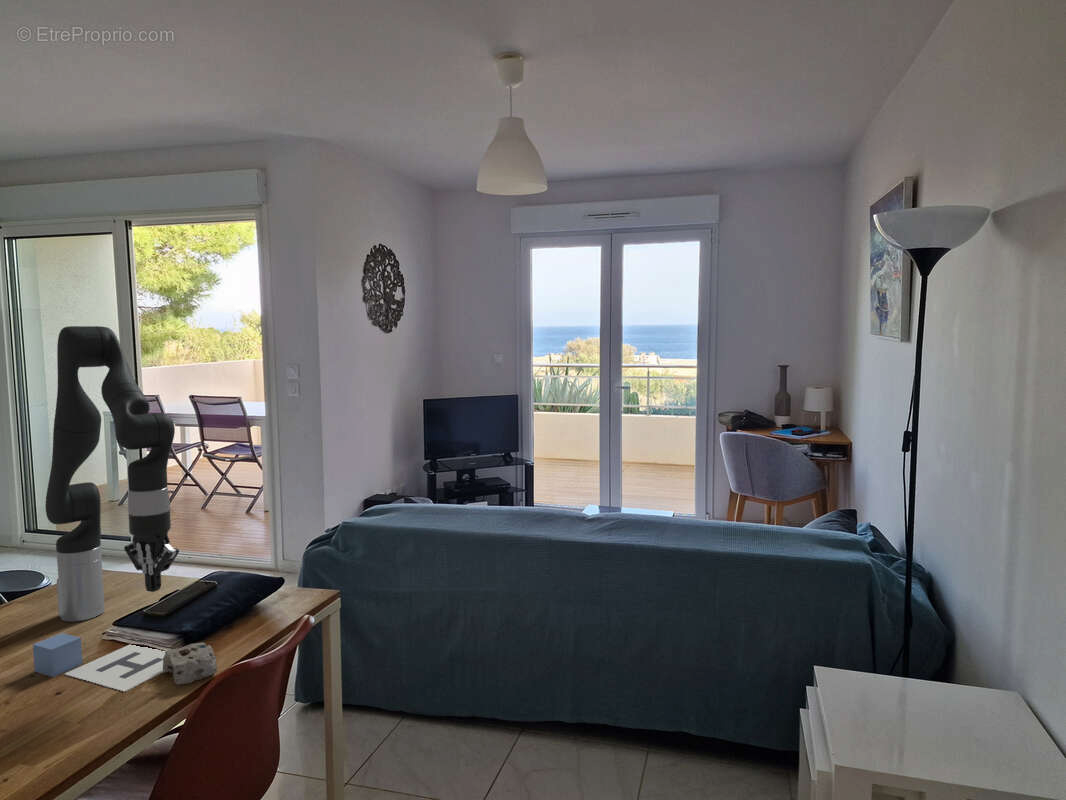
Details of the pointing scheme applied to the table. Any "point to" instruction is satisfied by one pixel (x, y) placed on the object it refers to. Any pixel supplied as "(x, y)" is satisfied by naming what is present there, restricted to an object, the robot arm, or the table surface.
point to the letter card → (122, 668)
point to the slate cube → (57, 654)
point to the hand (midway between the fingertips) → (153, 590)
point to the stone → (190, 663)
